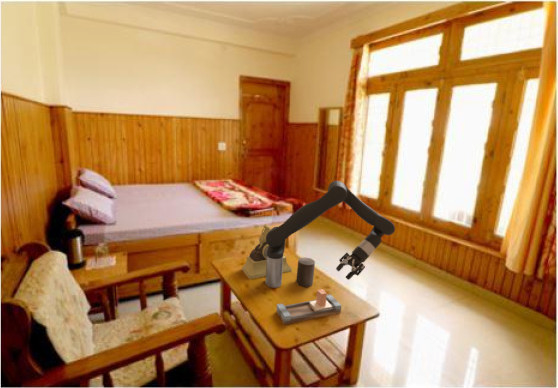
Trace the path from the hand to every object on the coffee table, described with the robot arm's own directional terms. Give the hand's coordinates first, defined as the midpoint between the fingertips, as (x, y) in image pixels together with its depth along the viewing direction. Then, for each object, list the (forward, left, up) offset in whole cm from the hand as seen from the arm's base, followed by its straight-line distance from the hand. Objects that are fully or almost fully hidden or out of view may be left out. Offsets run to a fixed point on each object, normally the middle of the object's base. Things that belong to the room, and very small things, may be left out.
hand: (341, 274), depth 147 cm
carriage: (+1, -11, -15) cm, 19 cm away
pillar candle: (-25, -7, -17) cm, 31 cm away
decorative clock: (-46, -23, -18) cm, 54 cm away
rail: (+1, -18, -17) cm, 25 cm away
